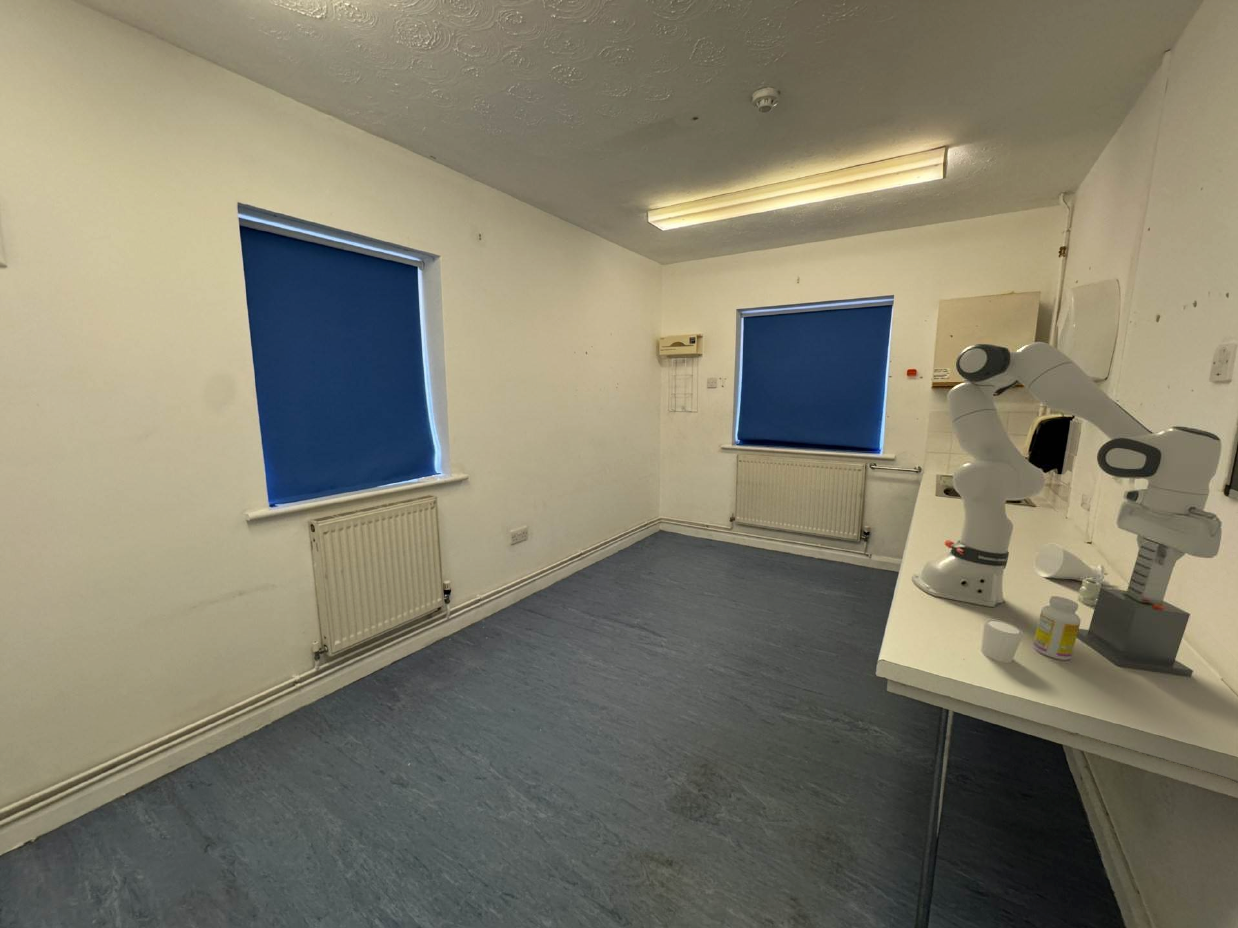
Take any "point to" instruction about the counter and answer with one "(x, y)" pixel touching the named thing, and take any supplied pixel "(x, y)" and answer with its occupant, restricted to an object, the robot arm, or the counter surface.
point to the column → (1149, 574)
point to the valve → (1089, 592)
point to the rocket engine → (1066, 565)
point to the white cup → (1000, 640)
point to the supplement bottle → (1057, 628)
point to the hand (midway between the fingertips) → (1154, 561)
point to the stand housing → (1137, 633)
